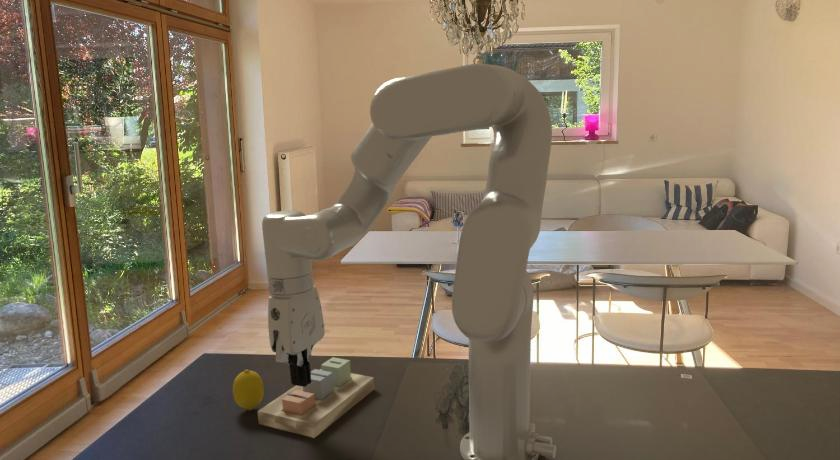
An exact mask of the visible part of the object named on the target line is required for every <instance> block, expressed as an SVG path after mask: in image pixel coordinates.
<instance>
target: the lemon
mask: <svg viewBox="0 0 840 460" xmlns="http://www.w3.org/2000/svg"><path fill="white" fill-rule="evenodd" d="M264 387H265V386H264V383H263V379H262V377H261V376H260V375H259V374H258V372H256V371H254V370H249V369H244V371H242V372H240V373H239V374H238V375H237V376H236V377H235V379H234V380H233V383H232V395H233V400H234V402H235V403H236V404H237V405H238V406H239V407H240V408H243V409H244V410H245V409H246V410H248V411H252V410H253V409H254V408H255V407H257V406H258V405H259V404H261V402H262V400H263V398H264V393H265V389H264Z"/></svg>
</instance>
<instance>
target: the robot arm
mask: <svg viewBox="0 0 840 460" xmlns="http://www.w3.org/2000/svg"><path fill="white" fill-rule="evenodd" d="M369 111H370V112H369V114H370V119H371V122H372V123H371V124H370V125H369V127H368V128H367V129H366V131H365V133H364V134H363V135H362V137H361V138H360V140H359V141H358V143H357V144H356V145H355V147H353V149H352V152H351V155H350V159H351V162H352V165H353V167H354V173H353V176H352V178H351V180H350V182H349V184H348V185H347V186H346V189H345V190H344V191H343V193H342V194H341V195H340V197H339V198H338V199H337V201H336V202H335V203H334V204H333V205H332V206H330V207H328V208H325V209H322V210H319V211H317V212H314V213H311V214H308V215H306V213H304V212H302V211H300V210H280V211H275V212H274V211H273V212H270V213H267V214H266V215H265V216H264V217H263V218H262V221H261V227H262V237H263V246H264V256H265V257H264V258H265V263H266V274H267V283H268V287H267V290H268V292H269V296H268V308H267V309H268V310H267V321H268V322H267V324H268V325H267V326H268V327H267V328H268V338H269V344H270V349H271V351H272V352H273V353H275V362H276V363H281V364H284V363H286V365H288V366H289V372H290V373H289V374H290V375H289V376H290V381H291V385H293V386H296V385H297V386H303V387H306V386H307V385H308V384H310V383H311V365H310V361H311V360H312V351H313V348H314V346H316V345H317V343H319V342H320V341H321V340H322V339H323V338H324V337H325V334H326V332H325V322H324V314H323V310H322V309H323V308H322V305H321V304H322V303H321V299H320V295H319V291H318V289H317V286H316V285H315V284H314V275H313V273H314V272H313V264H312V261H324V260H327V259H330V258H332V257H334V256H336V255H337V254H339V253H341V252H342V251H344V250H346V249H348V248H350V247H352V246H355V244H357V243H358V242H359V241H360V240H361V239H362V238H363V237H364V236H365V234H366V233H367V232H368V231H369V229H370V228H371V227H372V225H373V224H374V223H375V221H376V220H377V219H378V218H379V216H380V215H381V214H382V212H383V210H385V207H386V206H387V204H388V202H389V200H390V198H391V196H392V195H393V193H394V191H395V188H396V186H397V184H398V183H399V181H400V180H401V178H402V177H403V175H404V174H405V173H406V172H407V170H408V169H409V168H410V166H411V164H412V163H413V162H414V161H415V160H416V159H417V157H418V155H420V153H421V152H422V150H423V149H424V148H425V147H426V146H427V144H428V143H429V141H430V140H431V139H432V137H436V136H437V137H438V136H443V135H444V136H445V135H449V134H455V133H457V134H458V133H462V132H470V131H477V130H482V129H483V130H485V129H488V128H492V130H493V144H492V148H491V152H490V155H489V161H488V170H487V177H486V183H485V189H484V193H483V194H484V195H483V197H482V200H481V202H479V203H478V204H477V205H475V206H474V208H472V210H471V211H470V212H469V214H468V215H467V217H466V219H465V221H464V223H463V226H462V229H461V232H460V233H461V234H460V238H459V243H458V251H457V259H456V266H455V274H454V279H453V287H452V295H451V313H452V318H453V321H454V323H455V325H456V327H457V328H458V329H459V331H460V332H461V333H462V334H463V335H464V337H466V338H467V339H468V406H469V407H468V409H469V410H468V415H469V416H468V418H469V419H468V420H469V422H468V423H469V428H468V429H469V431H468V432H467V433H466V434H464V436H463V437H462V438H461V440H460V443H459V452H460V455H461V457H462V459H463V460H538V459H539V457H540V456H542V457H546V458H551V459H555V457H556V453H557V445H555V444H553V437H550V436H545V435H539V433H537V432H536V424H535V423H532V422H531V421H530V420H531V419H530V416H531V415H530V414H531V411H530V410H531V409H530V407H531V349H532V347H531V346H532V345H531V344H532V343H531V342H532V341H531V339H532V324H533V322H532V321H533V311H534V286H533V283H532V278H531V276H530V274H529V273H528V271H527V266H528V261H529V256H530V251H531V248H532V247H533V246H534V244H535V243H536V242H537V239H538V237H539V235H540V231H541V224H542V215H543V214H542V213H543V206H544V205H543V204H544V199H545V193H546V189H547V186H546V185H547V180H548V170H549V163H550V156H551V150H552V138H553V126H552V125H553V124H552V118H551V115H550V111H549V106H548V104H547V102H546V100H545V99H544V97H543V95H542V93H541V92H540V90H539V89H538V88H537V87H536V86H535V85H534V84H533V83H532V82H531V81H529V79H528V78H526V77H524V76H523V75H521V74H520V73H519V72H517V71H516V70H513V69H511V68H508V67H506V66H502V65H497V64H489V63H471V64H470V63H469V64H466V65H465V64H464V65H459V66H455V67H451V68H450V67H449V68H446V69H441V70H439V69H438V70H434V71H429V72H425V73H420V74H419V73H418V74H414V75H408V76H402V77H395V78H392V79H389V80H388V81H385V82H384V83H383V84H382V85H380V86H379V87H378V88H377V89H376V91H375V92H374V94H373V95H372V99H371V102H370V106H369Z"/></svg>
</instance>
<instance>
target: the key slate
mask: <svg viewBox="0 0 840 460" xmlns="http://www.w3.org/2000/svg"><path fill="white" fill-rule="evenodd" d="M310 372H311V383H310V384H308V385H307V386H306V387H303V391H304V392H308V393H313V394H314V399H315V400H320V401H322V400H324V399H325V398H326V397H328V396H329V395H330V394H332V393H333V392H334V388H333V372H328V371H323V370H320V369H317V368H313V369H312V370H310Z"/></svg>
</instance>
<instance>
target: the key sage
mask: <svg viewBox="0 0 840 460" xmlns="http://www.w3.org/2000/svg"><path fill="white" fill-rule="evenodd" d="M320 369H321V370H323V371H328V372H333V386H336V387H341V386H343V385H344V384H345V383H347V382H348V381H349V380H351V373H352V372H351V371H352V370H351V360H350V359H345V358H340V357H334V356H332V357H331V358H330V359H328V360H326V361H325V362H323V363H322V364H321V365H320Z"/></svg>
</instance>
